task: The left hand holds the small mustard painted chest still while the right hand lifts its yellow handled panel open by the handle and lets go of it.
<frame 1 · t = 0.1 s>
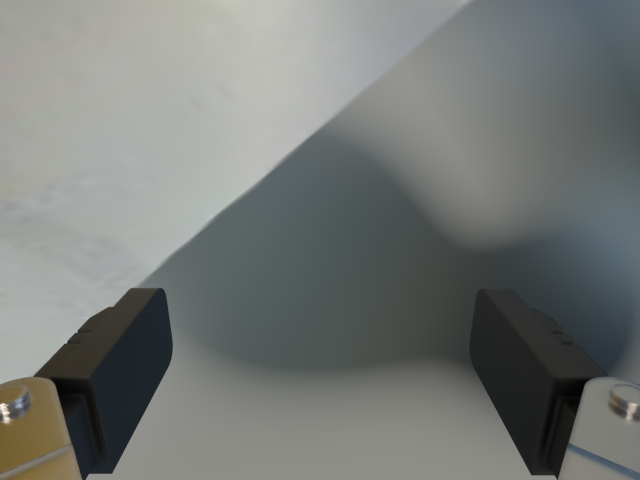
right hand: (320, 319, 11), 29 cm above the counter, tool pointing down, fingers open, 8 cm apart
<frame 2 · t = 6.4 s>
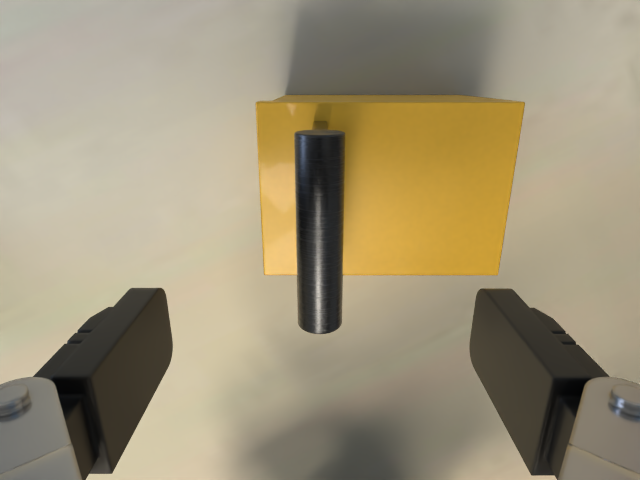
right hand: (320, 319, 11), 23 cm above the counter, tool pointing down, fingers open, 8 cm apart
chest: (370, 160, 33), on the counter
yellow handled panel: (394, 211, 20), point 14 cm above the counter, hinge at 0.0°
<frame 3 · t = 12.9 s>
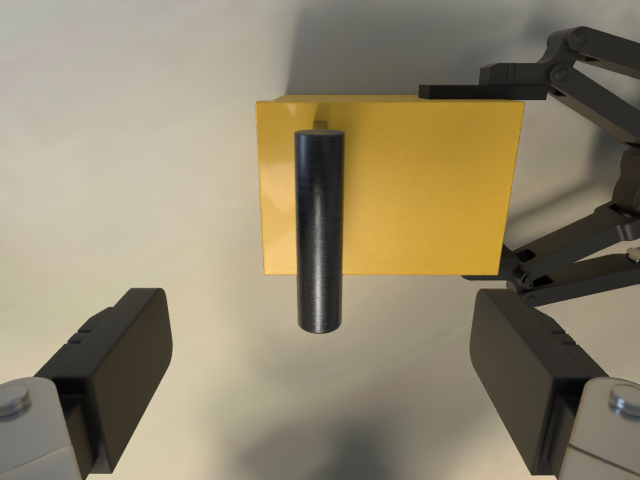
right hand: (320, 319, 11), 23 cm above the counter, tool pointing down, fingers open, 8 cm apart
left hand: (416, 179, 27), fingers closed on chest, 9 cm apart
chest: (370, 160, 33), on the counter, touching left hand
yellow handled panel: (394, 210, 20), point 14 cm above the counter, hinge at 0.0°
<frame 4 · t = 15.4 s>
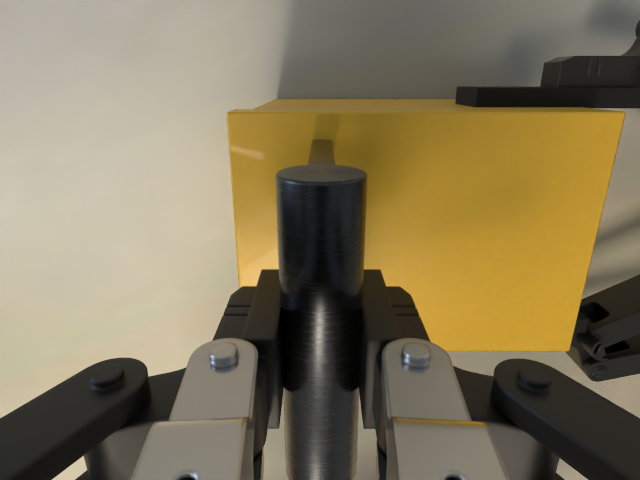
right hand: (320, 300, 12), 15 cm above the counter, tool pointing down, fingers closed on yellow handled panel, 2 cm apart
chest: (385, 181, 26), on the counter, touching left hand
yellow handled panel: (434, 278, 13), point 14 cm above the counter, hinge at -0.1°, touching right hand
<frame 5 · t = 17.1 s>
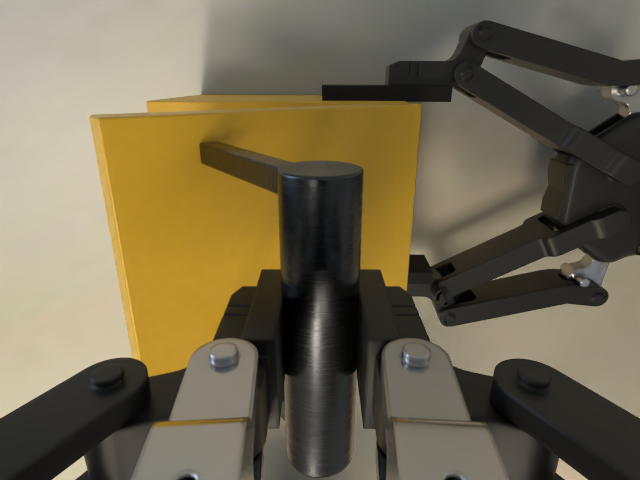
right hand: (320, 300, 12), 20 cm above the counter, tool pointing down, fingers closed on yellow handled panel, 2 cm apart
left hand: (322, 186, 25), fingers closed on chest, 9 cm apart
chest: (294, 164, 31), on the counter, touching left hand
yellow handled panel: (345, 254, 15), point 17 cm above the counter, hinge at 37.5°, touching right hand
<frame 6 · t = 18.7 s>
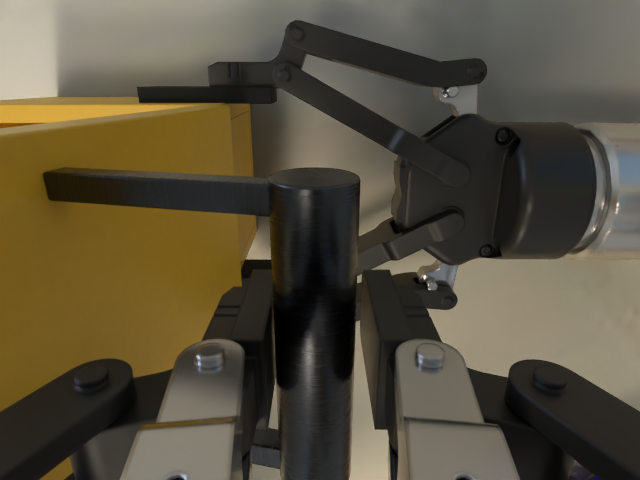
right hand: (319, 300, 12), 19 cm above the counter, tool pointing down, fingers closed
left hand: (160, 190, 24), fingers closed on chest, 9 cm apart
chest: (162, 168, 30), on the counter, touching left hand
yellow handled panel: (240, 269, 14), point 17 cm above the counter, hinge at 76.9°
when the left hand's fingers open (7 cm above the counter, at t = 22.6 s): chest stays where it is, on the counter.
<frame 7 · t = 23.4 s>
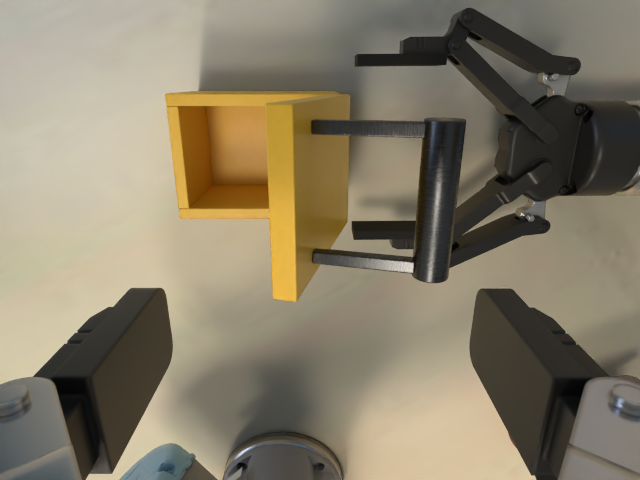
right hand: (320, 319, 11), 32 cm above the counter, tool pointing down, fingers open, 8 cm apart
left hand: (353, 151, 35), fingers open, 13 cm apart
chest: (269, 143, 42), on the counter
yellow handled panel: (377, 183, 25), point 17 cm above the counter, hinge at 75.6°
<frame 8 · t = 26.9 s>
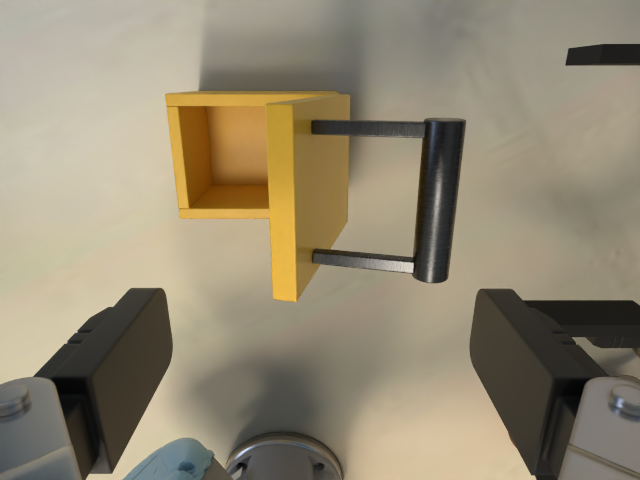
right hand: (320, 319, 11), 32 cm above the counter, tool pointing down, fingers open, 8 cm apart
chest: (269, 143, 42), on the counter
yellow handled panel: (377, 183, 25), point 17 cm above the counter, hinge at 75.6°
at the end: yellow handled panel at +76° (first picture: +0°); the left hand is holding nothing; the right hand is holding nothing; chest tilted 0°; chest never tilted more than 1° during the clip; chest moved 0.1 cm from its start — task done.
